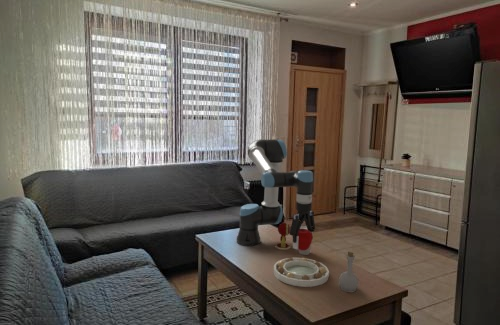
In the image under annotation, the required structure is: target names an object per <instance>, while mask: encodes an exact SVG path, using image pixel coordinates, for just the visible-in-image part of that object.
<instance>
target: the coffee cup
mask: <svg viewBox="0 0 500 325" xmlns="http://www.w3.org/2000/svg"><path fill="white" fill-rule="evenodd" d="M300 229H307V226H306V225H301V227H300ZM307 230H308V229H307ZM313 233H314V232H312V234H313ZM311 246H312V244H311V245H310V247H309V248H308V249H307V250H304V251H302V250H299V249H297V250H298V252H297V253H298V254H300V255H303V256H306V255H310V254H311Z"/></svg>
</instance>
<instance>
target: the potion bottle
mask: <svg viewBox="0 0 500 325" xmlns="http://www.w3.org/2000/svg"><path fill="white" fill-rule="evenodd" d="M345 258H346V259H347V260H346V261H347V264H346V265H347V266H346V271H344V272H341V274H340V276H339V278H338V282H339V287H340V289H341V291H344V292H346V293H355V292H356V290H357V288H358V286H359V278H358V276H357V274H355V273H354V272H353V261H354V260H355V255H354V252H352V251H347V254H346V255H345Z"/></svg>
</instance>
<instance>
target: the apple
mask: <svg viewBox="0 0 500 325" xmlns="http://www.w3.org/2000/svg"><path fill="white" fill-rule="evenodd" d="M295 234H296V233H295ZM298 236H299V240H298V249H299V250H302V251H304V250H307V249H308V248H309V247H310V245H311V246H312V242H313V233H311V232H310V231H309V230H307V229H300V230H299V233H298ZM310 248H311V247H310ZM298 249H297V250H298Z"/></svg>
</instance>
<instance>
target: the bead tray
mask: <svg viewBox="0 0 500 325" xmlns="http://www.w3.org/2000/svg"><path fill="white" fill-rule="evenodd" d="M273 275H274V276H275V278H276V279H277V280H278V281H279V282H282V283H284V284H286V285H289V286H294V287H300V288H301V287H302V288H312V287H313V288H314V287H318V286H322V285H324V284H325V283H326V282H327V281H328V279H329V276H330V271H329V268H328V267H327V266H326V264H323V262H320V261H318V260H314V259H310V258H306V257H288V258H283V259H279V260H278V261H277V260H276V262H275V264H274V265H273Z"/></svg>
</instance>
